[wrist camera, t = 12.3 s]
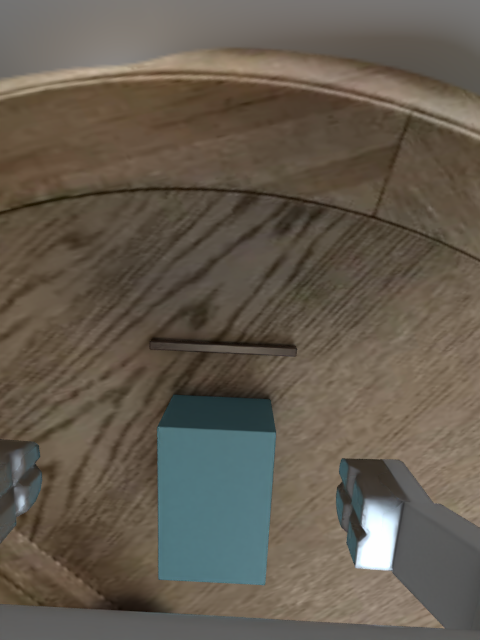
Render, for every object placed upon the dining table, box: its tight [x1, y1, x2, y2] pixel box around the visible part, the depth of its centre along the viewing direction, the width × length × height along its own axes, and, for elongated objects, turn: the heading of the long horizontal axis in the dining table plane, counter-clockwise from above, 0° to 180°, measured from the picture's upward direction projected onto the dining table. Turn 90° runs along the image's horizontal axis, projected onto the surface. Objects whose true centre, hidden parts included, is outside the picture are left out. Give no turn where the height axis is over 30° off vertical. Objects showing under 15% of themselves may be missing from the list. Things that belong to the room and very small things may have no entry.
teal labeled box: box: [157, 395, 276, 585], centre depth 23 cm, size 11×7×4 cm, turn 177°
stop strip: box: [150, 339, 297, 356], centre depth 23 cm, size 1×10×1 cm, turn 87°
